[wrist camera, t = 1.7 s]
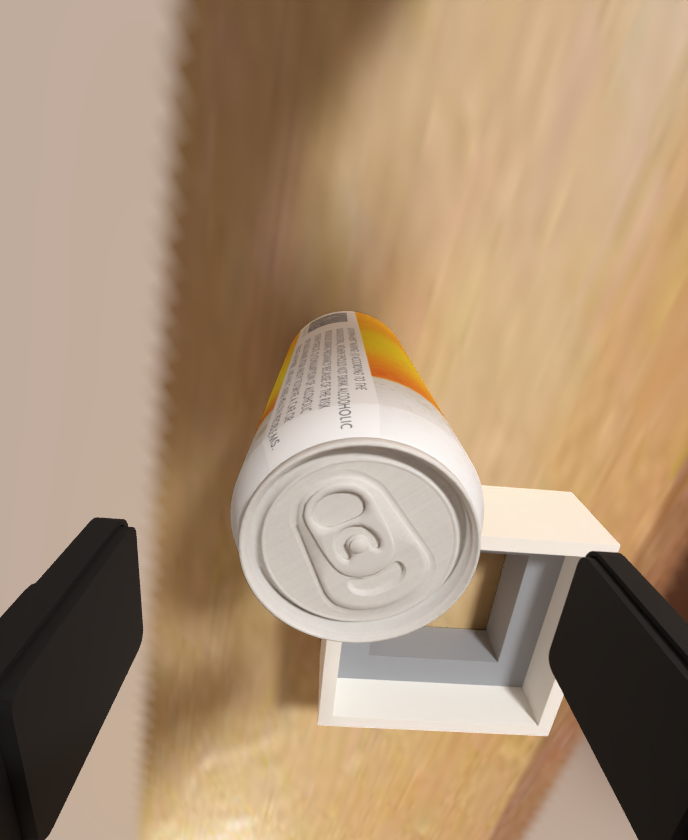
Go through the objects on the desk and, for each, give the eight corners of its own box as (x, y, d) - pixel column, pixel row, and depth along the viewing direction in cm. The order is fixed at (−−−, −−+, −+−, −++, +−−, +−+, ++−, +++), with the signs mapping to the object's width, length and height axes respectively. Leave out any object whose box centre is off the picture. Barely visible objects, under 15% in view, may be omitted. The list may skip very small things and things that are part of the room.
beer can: (318, 439, 26) (299, 686, 12) (265, 340, 23) (163, 496, 10) (421, 394, 25) (534, 603, 11) (375, 287, 23) (441, 373, 9)
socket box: (338, 474, 26) (339, 525, 22) (571, 491, 27) (620, 545, 22) (319, 652, 31) (317, 725, 27) (517, 663, 32) (548, 736, 27)
